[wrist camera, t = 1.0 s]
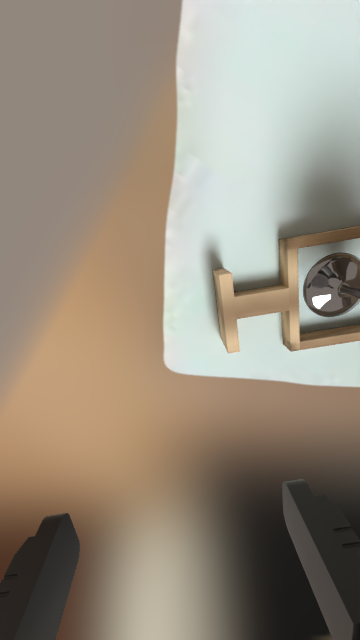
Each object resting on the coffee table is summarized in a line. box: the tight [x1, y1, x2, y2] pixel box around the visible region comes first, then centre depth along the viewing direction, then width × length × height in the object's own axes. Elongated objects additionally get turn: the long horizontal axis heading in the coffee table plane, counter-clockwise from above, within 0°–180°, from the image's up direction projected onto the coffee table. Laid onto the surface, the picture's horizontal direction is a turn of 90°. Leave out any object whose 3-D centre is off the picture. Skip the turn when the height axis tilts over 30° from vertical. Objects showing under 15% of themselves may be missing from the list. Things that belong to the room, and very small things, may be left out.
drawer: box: [213, 226, 360, 353], centre depth 26 cm, size 12×19×4 cm, turn 99°
